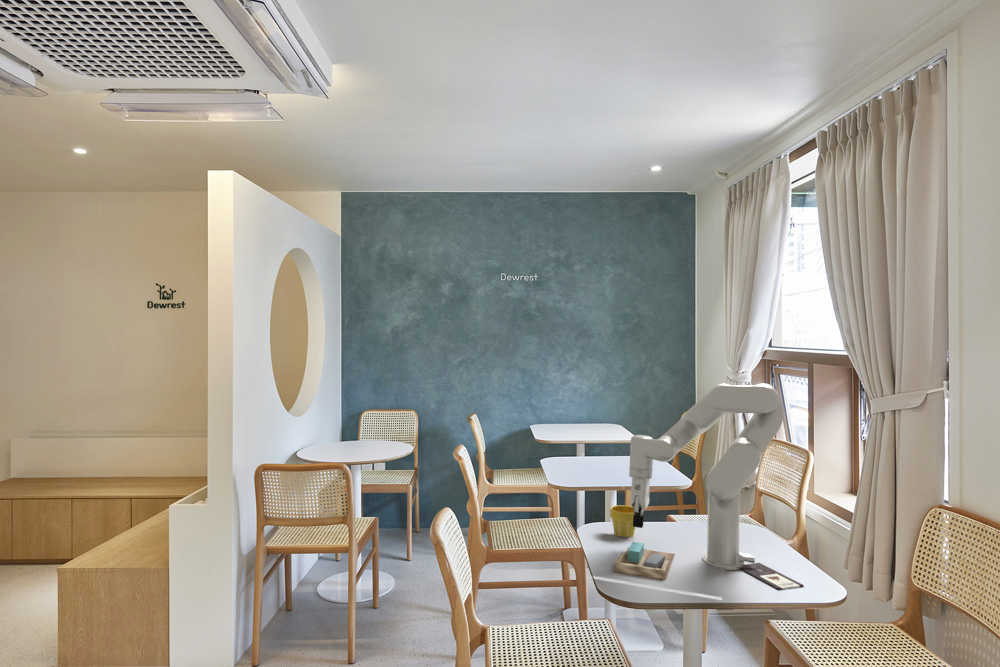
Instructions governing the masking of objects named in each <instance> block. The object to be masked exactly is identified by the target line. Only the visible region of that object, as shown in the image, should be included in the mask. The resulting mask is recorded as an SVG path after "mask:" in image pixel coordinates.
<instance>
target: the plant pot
mask: <svg viewBox="0 0 1000 667" xmlns="http://www.w3.org/2000/svg"><path fill="white" fill-rule="evenodd" d="M633 515H634V507H632V506H631V505H624V504H623V505H621V504H619V505H613V506H611V507H610V510H609V517H610V519H611V521H612V527H613V532H614V536H618V537H622V538H623V537H624V538H632V539H633V538H634V535H635V531H636V527H633Z"/></svg>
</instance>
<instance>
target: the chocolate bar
mask: <svg viewBox="0 0 1000 667" xmlns="http://www.w3.org/2000/svg"><path fill="white" fill-rule="evenodd" d="M739 570H740V571H742V572H743V573H746V574H747V575H749V576H750V577H751V576H752V577H753V578H755V579H757V580H758V581H760V582H761V583H764V584H766V585H767V586H770V587H771V588H773V589H775V590H777V591H782V590H788V589H789V590H790V589H797V588H798V589H799V588H804V584H802V583H800V582H799V581H796V580H794V579H793V578H790V577H788V576H786V575H784V574H783V573H781V572H779V571H776V570H774V569H773V568H770V567H769V566H766V565H765V564H763V563H760V562H756V563H747V564H745V563H744V567H742V568H741V569H739Z"/></svg>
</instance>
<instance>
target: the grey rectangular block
mask: <svg viewBox="0 0 1000 667" xmlns="http://www.w3.org/2000/svg"><path fill="white" fill-rule="evenodd" d="M664 560H665V555H661V554H656V553H653V554H652V555H651V556H650V557H649V558H648V559H647V560H646V561H645V563H644V566H646V567H653V568H659V569H661V568H662V565H663V563H664Z"/></svg>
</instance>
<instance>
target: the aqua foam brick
mask: <svg viewBox="0 0 1000 667" xmlns="http://www.w3.org/2000/svg"><path fill="white" fill-rule="evenodd" d="M628 547H629V549H628V548H627V549H628V562H634V563H639V562H640V560H641V558H642V556H643V554H644V550H645V549H644V548H645V543H644V542H638V541H637V542H636V541H632V542H631V544H630V546H628Z"/></svg>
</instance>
